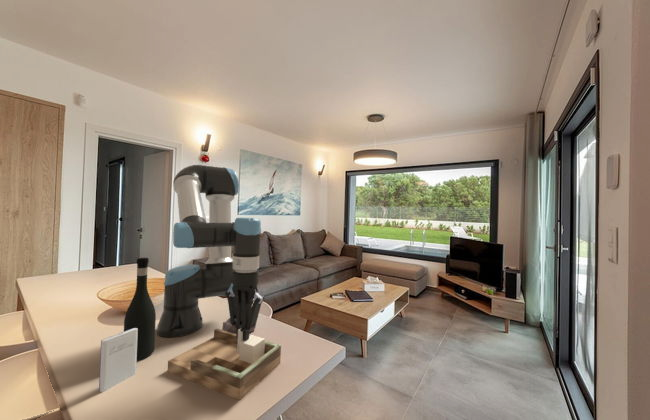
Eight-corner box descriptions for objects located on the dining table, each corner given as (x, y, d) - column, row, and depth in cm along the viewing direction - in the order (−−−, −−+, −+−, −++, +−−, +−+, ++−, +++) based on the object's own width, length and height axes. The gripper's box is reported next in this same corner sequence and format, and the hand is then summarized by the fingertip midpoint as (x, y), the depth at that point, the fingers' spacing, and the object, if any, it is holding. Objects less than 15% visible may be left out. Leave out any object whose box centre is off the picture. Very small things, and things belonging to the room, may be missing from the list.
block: (239, 359, 74) (239, 342, 75) (250, 351, 79) (251, 334, 79) (252, 364, 72) (253, 346, 72) (264, 355, 77) (264, 338, 77)
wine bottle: (116, 359, 78) (120, 258, 79) (142, 346, 86) (146, 255, 86) (134, 365, 75) (138, 261, 76) (160, 351, 83) (164, 257, 83)
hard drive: (98, 391, 64) (100, 340, 65) (132, 372, 72) (134, 327, 72) (102, 392, 64) (104, 341, 64) (136, 374, 71) (138, 328, 72)
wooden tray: (167, 371, 73) (168, 350, 73) (215, 344, 88) (216, 327, 88) (239, 402, 62) (240, 377, 62) (280, 365, 78) (281, 345, 78)
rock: (247, 337, 93) (247, 324, 93) (219, 334, 95) (219, 321, 96) (258, 328, 101) (258, 315, 101) (232, 325, 103) (232, 313, 104)
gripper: (219, 269, 76) (215, 351, 76) (254, 275, 71) (250, 363, 70) (238, 265, 83) (234, 340, 82) (271, 270, 78) (267, 350, 77)
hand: (242, 350), depth 76 cm, fingers closed
